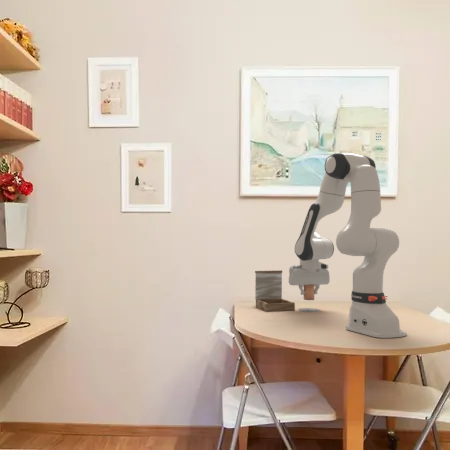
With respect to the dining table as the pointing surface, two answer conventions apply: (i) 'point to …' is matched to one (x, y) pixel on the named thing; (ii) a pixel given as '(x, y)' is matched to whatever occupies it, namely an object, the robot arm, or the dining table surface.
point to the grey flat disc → (309, 310)
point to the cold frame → (271, 292)
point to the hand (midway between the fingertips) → (309, 294)
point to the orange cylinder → (309, 292)
